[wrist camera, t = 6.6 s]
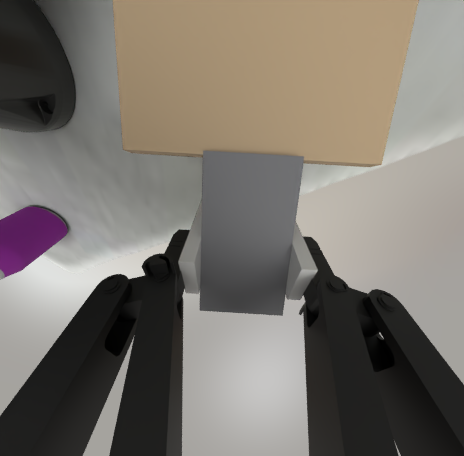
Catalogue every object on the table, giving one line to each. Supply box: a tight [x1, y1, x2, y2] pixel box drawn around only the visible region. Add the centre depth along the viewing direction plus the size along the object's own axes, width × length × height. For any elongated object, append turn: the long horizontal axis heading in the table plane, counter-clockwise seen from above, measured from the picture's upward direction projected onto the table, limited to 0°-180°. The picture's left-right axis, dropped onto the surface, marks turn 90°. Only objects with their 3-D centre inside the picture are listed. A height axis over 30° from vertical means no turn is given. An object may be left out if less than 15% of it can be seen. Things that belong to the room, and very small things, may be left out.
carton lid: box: [113, 0, 419, 315], centre depth 9 cm, size 14×21×2 cm, turn 177°
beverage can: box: [0, 207, 67, 280], centre depth 29 cm, size 8×8×12 cm
